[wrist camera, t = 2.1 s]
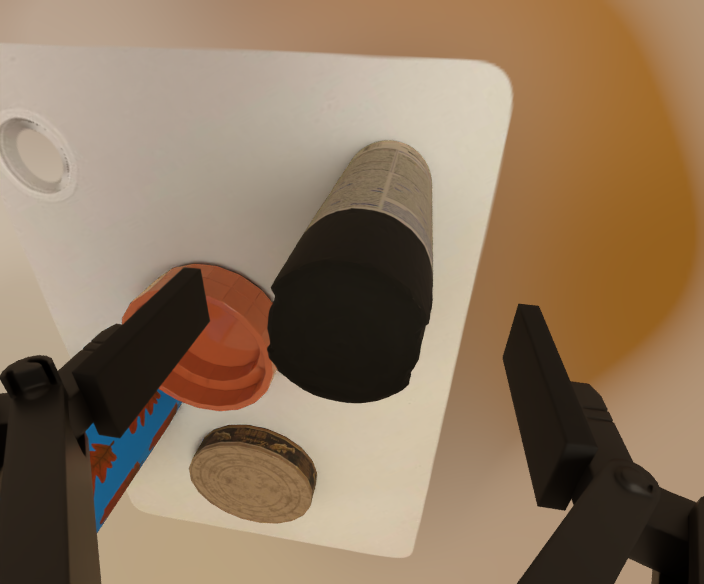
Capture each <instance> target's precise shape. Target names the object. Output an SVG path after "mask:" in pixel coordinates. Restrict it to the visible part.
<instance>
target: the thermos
mask: <svg viewBox="0 0 704 584" xmlns="http://www.w3.org/2000/svg"><path fill="white" fill-rule="evenodd" d="M181 403H182V402H181V401H178V400H176V399H174V398H173V397H171V396H169V395H168V394H166V393H164V392H163V391H161V390H159V389H158V390H157V391H156V392H155V394H154V395H153V396H152V398H151V399H150V400H149V402H148V403H147V404H146V405H145V407H144V408H143V409H142V411H141V412H140V413H139V415H138V416H137V417H136V418H135V420H134V421H133V422H132V424H131V425H130V426H129V428H128V429H127V430H126V432H125V433H124V434H123V435H122V437H121V438H115V437H109V436H102V435H99V434H98V432H97V430H96V428H95V425H94V423H93V424H92V425H91V426H90V427H89V428H88V429H87V430H86V435H87V437H88V441H89V452H90V463H91V474H92V485H93V497H94V508H95V519H96V530H97V533H98V531H99V529H100V528H101V527H102V525H103V524H104V522H105V520H106V519H107V517H108V516H109V514H110V513H111V511H112V510H113V508H114V507H115V505H116V504H117V502H118V501H119V499H120V498H121V496H122V495H123V493H124V492H125V490H126V489H127V487H128V486H129V484H130V483H131V481H132V480H133V478H134V477H135V475H136V474H137V472H138V471H139V469H140V468H141V466H142V465H143V463H144V462H145V460H146V459H147V457H148V456H149V454H150V453H151V451H152V450H153V448H154V447H155V445H156V444H157V442H158V441H159V439H160V438H161V436H162V435H163V433H164V432H165V430H166V429H167V427H168V425H169V424H170V422H171V420H172V419H173V417H174V415H175V414H176V412H177V410H178V408H179V407H180V405H181Z"/></svg>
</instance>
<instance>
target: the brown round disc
mask: <svg viewBox="0 0 704 584" xmlns="http://www.w3.org/2000/svg"><path fill="white" fill-rule="evenodd" d="M189 471H190V477H191V481H192V482H193V484H194V485H195V487H196V489H197V490H198V492H199V493H200V494H201V495H203V496H204V497H205V498H206V499H207V500H208V501H209V502H210V503H212V504H213V505H215V506H217V507H218V508H220V509H221V510H223V511H225V512H227V513H229V514H232V515H234V516H237V517H239V518H242V519H246V520H250V521H255V522H259V523H283V522H289V521H293V520H295V519H297V518H299V517H301V516H303V515H304V514H305V512H306V511H307V510H308V509H309V507H310V505H311V501H312V497H313V493H314V489H315V485H316V478H317V472H316V469H315V467H314V464H313V461H312V460H311V459H310V457H309V456H308V455H307V454H306V453H305V452H304V450H303V449H302V448H301V447H299V446H298V445H296V444H295V443H294V442H292V441H291V440H289V439H288V438H286V437H284V436H282V435H280V434H277V433H275V432H273V431H270V430H268V429H264V428H259V427H254V426H250V425H228V426H225V427H222V428H218V429H215V430H213V431H212V432H211V433H210V434H208V435H207V436H206V437H205V438H204V439H203V441H202V443H201V445H200V446H199V448H198V450H197V452H196V454H195V455H194V457H193V459H192V462H191V464H190V467H189Z"/></svg>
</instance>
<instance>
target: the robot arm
mask: <svg viewBox="0 0 704 584" xmlns="http://www.w3.org/2000/svg"><path fill="white" fill-rule="evenodd" d="M209 322H210V317H209V312H208V306H207V300H206V295H205V289H204V284H203V278H202V273H201V269H198V268H189V267H183V268H182V269H181V270H180V271H179V272H178V273H177V274H176V275H175V276H174V277H173V278H172V279H170V280H169V281H168V282H167V283H166V284H165V285H164V286H163V287H162V288H161V289H160V290H159V291H158V292H157V293H156V294H154V295H153V296H152V297H151V298H150V299H149V300H148V301H147V302H146V303H145V304H144V305H143V306H142V307H141V308H140V309H138V310H137V311H136V312H135V313H134V314H133V315H132V316H131V317H130V318H129V319H128V320H127V321H126V322H125V323H124V324H122V325H121V324H115V325H113V326H111V327H109V328H107V329H105V330H104V331H102V332H101V333H100V334H98V335H97V336H96V337H95V338H94V339H93V340H92V342H91V343H88V344H87V345H86V346H85V347H84V348H83V350H81V351H80V352H78V353H77V354H76V355H75V356H74V357H73V358H72V359H71V360H70V361H68V362H67V363H66V364H65V365H64V366H63V367H62V368H61V369H59V370H58V371H57V369H56V367H55V364H54V362H53V360H52V358H50V357H48V356H41V355H37V356H32V357H27V358H24V359H21V360H18V361H16V362H15V363H13V364H11V365H9V366H8V367H7V368H6V369H5V370H4V371H3V372H2V373H1V375H0V380H1V382H2V384H3V385H4V387H5V389H6V391H7V393H2V394H0V584H101V575H100V564H99V553H98V542H97V530H96V519H95V508H94V497H93V485H92V474H91V463H90V452H89V441H88V437H87V435H86V430H87V429H88V428H89V427H90V426H91V425H92V424H93V423H94V425H95V428H96V430H97V432H98V434H99V435H102V436H109V437H115V438H121V437H122V435H123V434H124V433H125V432H126V430H127V429H128V428H129V426H130V425H131V424H132V422H133V421H134V420H135V418H136V417H137V416H138V415H139V413H140V412H141V411H142V409H143V408H144V407H145V405H146V404H147V403H148V402H149V400H150V399H151V398H152V396H153V395H154V394H155V392H156V391H157V390H158V389H159V387H160V386H161V385H162V383H163V382H164V381H165V379H166V378H167V377H168V376H169V374H170V373H171V372H172V370H173V369H174V368H175V366H176V365H177V364H178V363H179V361H180V360H181V359H182V357H183V356H184V355H185V353H186V352H187V351H188V350H189V348H190V347H191V346H192V344H193V343H194V342H195V340H196V339H197V338H198V337H199V335H200V334H201V333H202V331H203V330H204V329H205V327H206V326H207V325H208V324H209ZM503 362H504V366H505V370H506V374H507V379H508V383H509V387H510V392H511V396H512V400H513V404H514V409H515V413H516V417H517V421H518V425H519V430H520V434H521V438H522V442H523V447H524V451H525V455H526V459H527V463H528V468H529V472H530V476H531V480H532V485H533V489H534V493H535V498H536V502H537V506H539V507H546V508H552V509H558V510H564V511H565V510H566V508H567V506H568V504H569V502H570V501H571V499H572V502H573V504H574V506H573V507H572V509H571V510H570V511H569V513H568V514H567V516H566V517H565V518H564V520H563V521H562V522H561V524H560V525H559V527H558V528H557V529H556V531H555V532H554V534H553V535H552V536H551V538H550V539H549V540H548V542H547V543H546V544H545V546H544V547H543V548H542V550H541V551H540V553H539V554H538V556H537V557H536V558H535V560H534V561H533V562H532V564H531V565H530V567H529V568H528V569H527V571H526V572H525V573H524V575H523V576H522V577H521V579H520V580H519V581H518V583H517V584H614V583H615V581H616V579H617V577H618V576H619V574H620V572H621V570H622V568H623V566H624V565H625V563H626V560H627V559H628V558H629V559H632V560H634V561H636V562H638V563H640V564H642V565H644V566H647V567H649V568H651V569H653V570H652V584H704V496H703V497H701V498H700V499H699V500H698V502H694V501H692V500H689V499H686V498H684V497H682V496H678V495H676V494H674V493H671V492H669V491H667V490H665V489H662V488H661V487H659V485H658V483H657V481H656V480H655V479H654V477H653V476H652V475H651V474H650V473H649V472H648V471H646V470H645V469H644V468H643V467H641V466H639V465H637V464H635V463H634V462H633V461H632V459H631V456H630V455H629V452H628V450H627V448H626V446H625V444H624V442H623V440H622V438H621V436H620V434H619V432H618V430H617V428H616V426H615V424H614V423H613V422H612V421H613V420H612V418H611V415H610V413H609V412H607V407H606V405H605V403H604V401H603V399H602V397H601V396H600V395H599V394H598V392H597V391H596V390H595V389H593V388H592V387H591V385H590V384H587V383H579V382H571V381H570V380H569V377H568V375H567V372H566V370H565V368H564V365H563V363H562V360H561V358H560V355H559V353H558V351H557V348H556V346H555V343H554V341H553V339H552V336H551V334H550V332H549V329H548V327H547V324H546V322H545V320H544V317H543V315H542V312H541V310H540V308H539V306H535V305H525V304H518V307H517V310H516V314H515V317H514V321H513V324H512V327H511V331H510V335H509V338H508V341H507V344H506V348H505V351H504V355H503Z"/></svg>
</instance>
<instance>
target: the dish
mask: <svg viewBox="0 0 704 584" xmlns="http://www.w3.org/2000/svg"><path fill="white" fill-rule="evenodd" d="M183 267H189V268H198V269H201V273H202V278H203V284H204V289H205V295H206V300H207V306H208V312H209V317H210V322H209V324H208V325H207V326H206V327H205V329H204V330H203V331H202V333H201V334H200V335H199V337H198V338H197V339H196V340H195V342H194V343H193V344H192V346H191V347H190V348H189V350H188V351H187V352H186V353H185V355H184V356H183V357H182V359H181V360H180V361H179V363H178V364H177V365H176V366H175V368H174V369H173V370H172V372H171V373H170V374H169V376H168V377H167V378H166V379H165V381H164V382H163V383H162V385H161V386H160V387H159V390H161V391H163V392H164V393H166V394H168V395H169V396H171V397H173V398H174V399H176V400H178V401H181V402H184V403H186V404H189V405H192V406H194V407H197V408H202V409H209V410H215V411H227V410H238V409H241V408H243V407H246V406H248V405H251V404H253V403H255V402H256V401H257V400H258V399H259V398H260V397H261V396H263V395H264V394H265V393H266V392H267V390H268V388H269V386H270V384H271V382H272V379H273V377H274V375H275V373H276V371H277V368H276V366H275V365H274V364H273V362H272V361H271V360H270V359H269V356H268V352H267V347H268V346H269V345H270V340H269V334H268V330H267V326H268V314H269V310H270V307H271V305H272V304H273V303H272V302H271V301H270V299H269V298H268V297H267V296H266V295H265V293H264V292H263V291H262V290H261V289H260V288H258V287H257V286H255V285H254V284H252V283H251V282H250V281H248V280H247V279H245V278H244V277H243V276H241V275H239V274H236V273H234V272H231V271H229V270H226V269H224V268H221V267H219V266H218V267H217V266H212V265H202V264H190V265H185V266H180V267H175V268H172V269H171V270H169V271H168V272H166V273H165V274H163V275H162V276H160V277H159V278H158V279H157V280H155V281H154V282H153V283H152V284H151V285H150V286H149V287H148V288H147V289H146V290H144V291H143V292H142V293H141V294H140V295H139V296H138V297H137V298H135V299H134V300H133V301H132V302H131V303H130V305H129V307H128V309H127V310H126V312H125V314H124V316H123V317H122V324H124V323H125V322H126V321H127V320H128V319H129V318H130V317H131V316H132V315H133V314H134V313H135V312H136V311H137V310H138V309H140V308H141V307H142V306H143V305H144V304H145V303H146V302H147V301H148V300H149V299H150V298H151V297H152V296H153V295H154V294H156V293H157V292H158V291H159V290H160V289H161V288H162V287H163V286H164V285H165V284H166V283H167V282H168V281H169V280H170V279H172V278H173V277H174V276H175V275H176V274H177V273H178V272H179V271H180V270H181V269H182V268H183Z"/></svg>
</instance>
